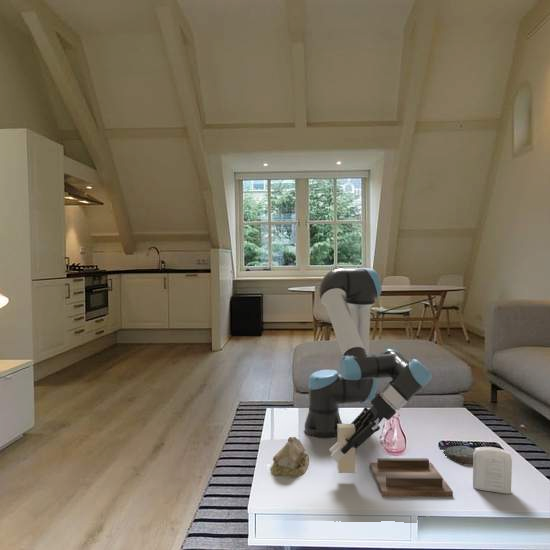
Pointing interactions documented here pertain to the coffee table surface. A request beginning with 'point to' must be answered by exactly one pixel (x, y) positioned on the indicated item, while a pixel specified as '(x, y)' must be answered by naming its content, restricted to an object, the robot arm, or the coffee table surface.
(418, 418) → the coffee table surface
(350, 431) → the beige rectangular block
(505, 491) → the white upright flat block
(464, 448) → the fossil
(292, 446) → the ceramic model
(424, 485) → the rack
